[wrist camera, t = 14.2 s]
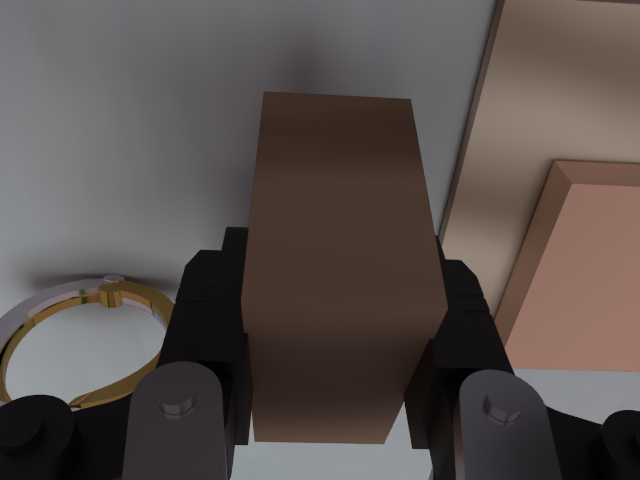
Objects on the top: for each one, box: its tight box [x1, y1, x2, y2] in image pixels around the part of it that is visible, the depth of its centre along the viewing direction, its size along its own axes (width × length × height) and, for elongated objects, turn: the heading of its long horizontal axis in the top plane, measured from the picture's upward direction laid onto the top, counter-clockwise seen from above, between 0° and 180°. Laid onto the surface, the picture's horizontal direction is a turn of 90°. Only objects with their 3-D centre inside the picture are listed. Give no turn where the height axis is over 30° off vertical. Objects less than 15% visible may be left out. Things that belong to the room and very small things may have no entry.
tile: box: [494, 161, 640, 372], centre depth 20 cm, size 2×8×9 cm
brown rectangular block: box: [241, 92, 448, 444], centre depth 13 cm, size 10×6×5 cm, turn 177°
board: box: [439, 0, 640, 321], centre depth 20 cm, size 16×14×1 cm
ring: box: [0, 274, 174, 411], centre depth 19 cm, size 7×3×8 cm, turn 82°
